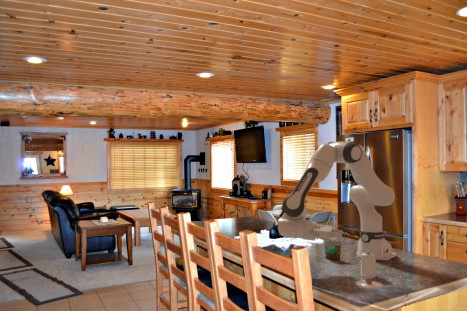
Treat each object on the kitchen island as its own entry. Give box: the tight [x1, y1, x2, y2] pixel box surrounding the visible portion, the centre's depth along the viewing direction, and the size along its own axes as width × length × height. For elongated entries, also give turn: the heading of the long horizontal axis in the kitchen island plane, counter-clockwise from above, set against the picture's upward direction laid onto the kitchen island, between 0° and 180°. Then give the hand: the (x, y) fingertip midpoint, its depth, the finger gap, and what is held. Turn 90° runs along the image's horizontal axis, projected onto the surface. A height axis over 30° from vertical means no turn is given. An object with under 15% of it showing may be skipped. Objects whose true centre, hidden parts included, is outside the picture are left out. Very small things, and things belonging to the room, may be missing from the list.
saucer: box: [354, 279, 384, 289], centre depth 170 cm, size 11×11×1 cm
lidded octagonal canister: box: [360, 251, 377, 279], centre depth 182 cm, size 6×6×11 cm
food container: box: [322, 238, 343, 261], centre depth 217 cm, size 12×6×10 cm, turn 21°
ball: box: [364, 277, 374, 284], centre depth 170 cm, size 3×3×3 cm
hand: (342, 234), depth 185 cm, fingers open, 8 cm apart
